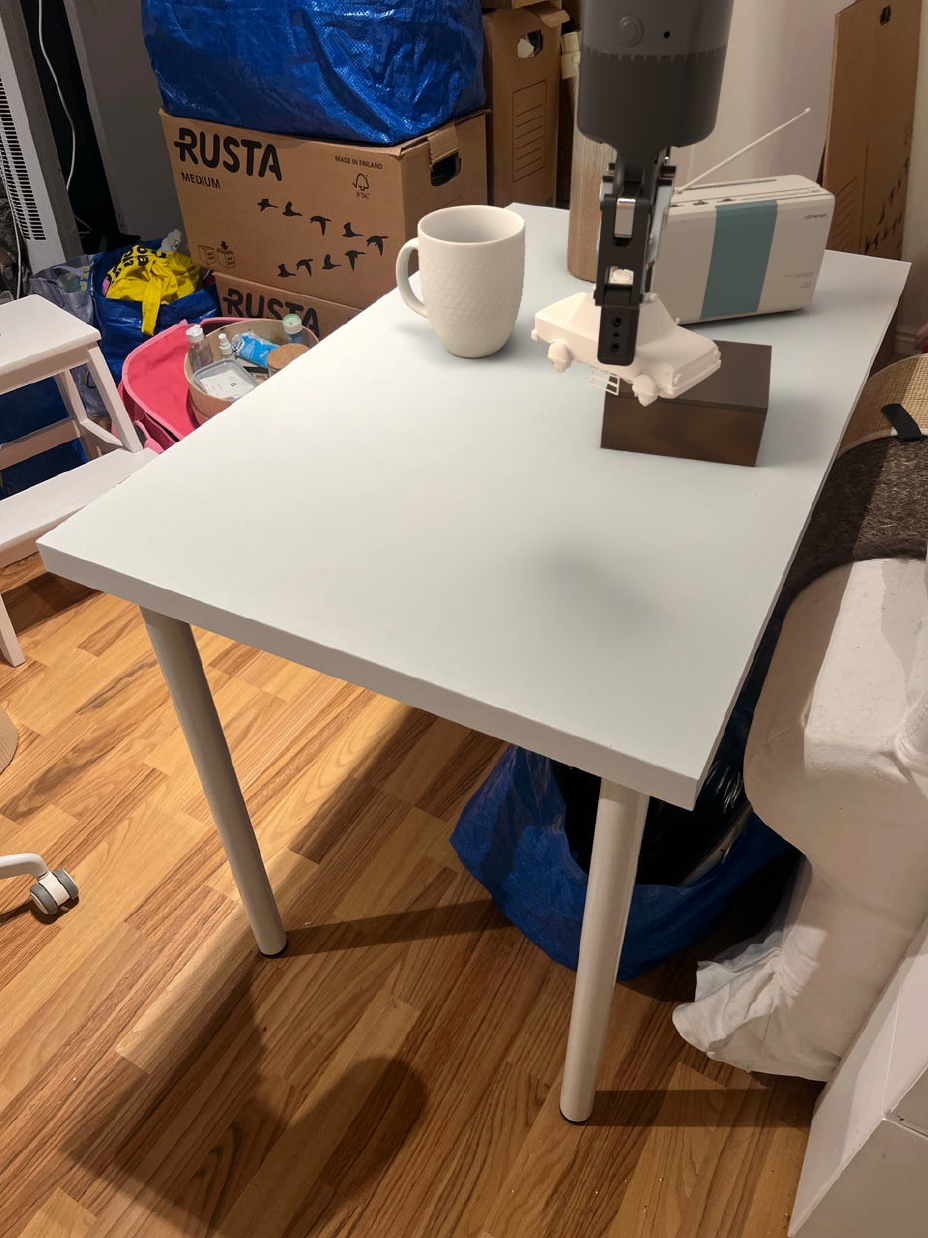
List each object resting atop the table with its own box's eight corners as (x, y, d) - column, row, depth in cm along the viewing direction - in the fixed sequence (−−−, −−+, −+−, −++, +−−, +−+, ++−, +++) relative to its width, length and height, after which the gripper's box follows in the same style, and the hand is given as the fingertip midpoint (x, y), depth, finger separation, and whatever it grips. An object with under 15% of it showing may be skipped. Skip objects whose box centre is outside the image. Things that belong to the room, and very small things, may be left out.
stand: (759, 401, 91) (772, 345, 87) (754, 467, 82) (768, 407, 78) (618, 386, 94) (624, 330, 89) (600, 447, 85) (605, 389, 81)
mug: (375, 346, 101) (364, 225, 92) (427, 309, 108) (421, 193, 99) (493, 376, 96) (493, 250, 87) (540, 334, 103) (544, 214, 94)
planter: (557, 256, 119) (567, 55, 104) (631, 250, 120) (652, 50, 105) (578, 287, 112) (591, 76, 96) (656, 280, 113) (682, 70, 98)
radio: (641, 338, 101) (663, 141, 88) (615, 307, 107) (632, 119, 94) (812, 315, 105) (860, 122, 91) (778, 287, 111) (817, 102, 97)
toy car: (668, 426, 56) (683, 319, 51) (521, 364, 62) (524, 263, 57) (723, 390, 59) (742, 286, 54) (578, 334, 65) (584, 237, 60)
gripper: (722, 66, 41) (673, 395, 52) (735, 8, 51) (691, 294, 63) (557, 61, 43) (544, 382, 54) (602, 5, 53) (582, 285, 64)
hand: (623, 334), depth 58 cm, fingers closed on toy car, 7 cm apart
